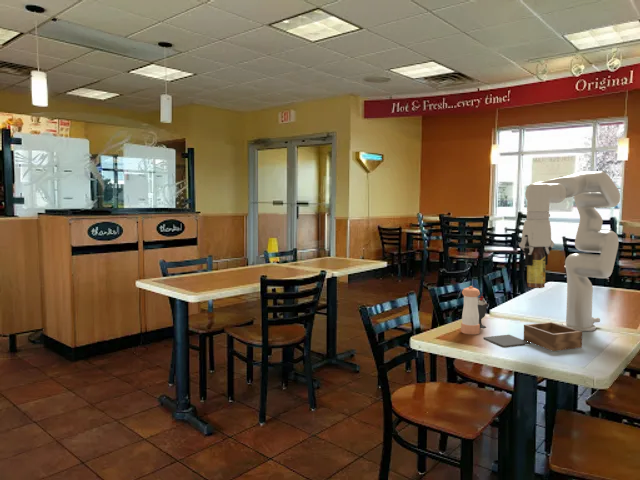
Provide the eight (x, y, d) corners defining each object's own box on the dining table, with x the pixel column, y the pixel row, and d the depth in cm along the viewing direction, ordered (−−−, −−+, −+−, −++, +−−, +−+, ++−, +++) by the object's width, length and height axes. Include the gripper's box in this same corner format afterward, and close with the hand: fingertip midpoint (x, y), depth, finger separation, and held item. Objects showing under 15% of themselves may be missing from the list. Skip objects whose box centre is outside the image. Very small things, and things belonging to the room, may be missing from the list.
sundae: (483, 329, 201) (483, 294, 200) (468, 326, 206) (469, 292, 205) (491, 326, 206) (491, 292, 204) (477, 324, 211) (477, 290, 209)
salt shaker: (460, 333, 195) (460, 287, 194) (461, 329, 202) (462, 284, 201) (479, 335, 193) (479, 288, 191) (480, 330, 200) (480, 285, 198)
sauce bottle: (547, 289, 176) (548, 235, 175) (529, 288, 177) (530, 234, 176) (542, 286, 182) (543, 234, 181) (524, 285, 184) (526, 233, 182)
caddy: (550, 336, 189) (551, 322, 189) (581, 347, 175) (582, 331, 175) (523, 340, 185) (523, 324, 185) (553, 351, 171) (553, 334, 171)
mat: (509, 336, 191) (509, 334, 191) (530, 344, 180) (530, 342, 180) (483, 338, 188) (483, 337, 188) (503, 347, 176) (503, 345, 176)
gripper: (548, 216, 184) (546, 263, 186) (511, 216, 179) (510, 264, 180) (564, 216, 177) (562, 265, 179) (526, 217, 172) (524, 267, 173)
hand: (536, 264), depth 179 cm, fingers closed on sauce bottle, 6 cm apart
